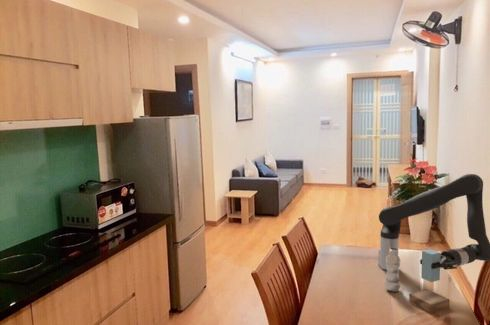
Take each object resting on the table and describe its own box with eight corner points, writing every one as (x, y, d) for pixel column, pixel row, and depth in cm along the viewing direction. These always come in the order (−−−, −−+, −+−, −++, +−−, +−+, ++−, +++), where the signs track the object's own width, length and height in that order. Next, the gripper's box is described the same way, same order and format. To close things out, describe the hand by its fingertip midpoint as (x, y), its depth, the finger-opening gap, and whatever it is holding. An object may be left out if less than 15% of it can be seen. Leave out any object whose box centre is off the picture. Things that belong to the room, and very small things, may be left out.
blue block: (421, 277, 163) (422, 250, 162) (429, 275, 165) (430, 249, 164) (431, 282, 158) (432, 254, 157) (439, 280, 160) (440, 252, 159)
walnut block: (409, 302, 165) (409, 293, 165) (426, 297, 170) (427, 289, 170) (431, 313, 155) (431, 304, 155) (448, 308, 160) (449, 299, 160)
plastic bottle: (390, 294, 173) (392, 251, 171) (381, 288, 179) (383, 247, 177) (402, 292, 174) (404, 250, 172) (393, 286, 181) (394, 246, 179)
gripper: (440, 244, 173) (412, 250, 166) (470, 254, 159) (441, 261, 153) (440, 260, 173) (412, 266, 167) (469, 271, 160) (440, 278, 154)
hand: (426, 264), depth 160 cm, fingers closed on blue block, 5 cm apart
